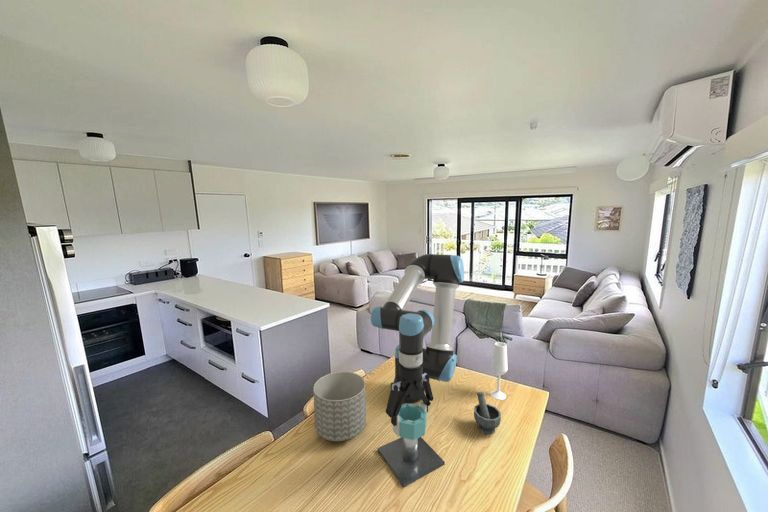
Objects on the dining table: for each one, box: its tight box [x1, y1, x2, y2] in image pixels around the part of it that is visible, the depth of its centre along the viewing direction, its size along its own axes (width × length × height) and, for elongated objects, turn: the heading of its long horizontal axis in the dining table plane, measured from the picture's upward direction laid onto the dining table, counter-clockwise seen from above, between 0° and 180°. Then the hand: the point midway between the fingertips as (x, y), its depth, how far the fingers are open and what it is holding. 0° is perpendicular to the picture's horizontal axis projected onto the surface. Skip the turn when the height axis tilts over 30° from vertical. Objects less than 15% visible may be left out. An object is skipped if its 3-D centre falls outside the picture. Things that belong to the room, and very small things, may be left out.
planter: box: [313, 371, 367, 442], centre depth 110 cm, size 19×19×18 cm
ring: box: [398, 403, 427, 440], centre depth 96 cm, size 10×10×5 cm
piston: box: [377, 436, 446, 488], centre depth 97 cm, size 16×16×11 cm
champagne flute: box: [490, 341, 509, 401], centre depth 130 cm, size 7×7×24 cm
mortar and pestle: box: [473, 391, 502, 435], centre depth 111 cm, size 11×9×12 cm
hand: (410, 427), depth 96 cm, fingers closed on ring, 10 cm apart
